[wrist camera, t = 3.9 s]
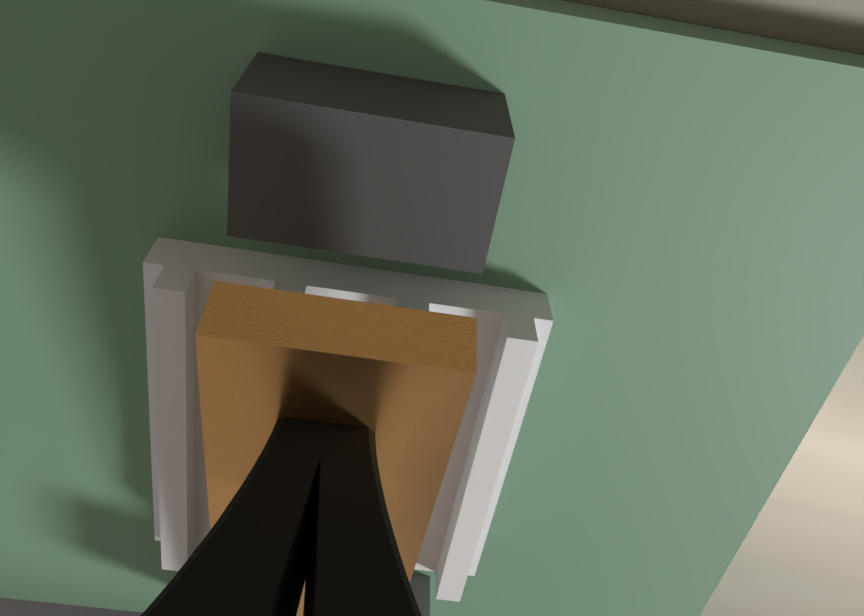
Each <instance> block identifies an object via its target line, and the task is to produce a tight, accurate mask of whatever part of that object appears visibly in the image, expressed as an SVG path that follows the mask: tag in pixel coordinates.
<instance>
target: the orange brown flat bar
mask: <svg viewBox="0 0 864 616" xmlns="http://www.w3.org/2000/svg"><path fill="white" fill-rule="evenodd" d="M195 341H196V354H197V367H198V380H199V393H200V406H201V419H202V431H203V444H204V457H205V470H206V483H207V496H208V509H209V522H210V530H211V529H212V527H213V526H214V525H215V523H216V522H217V520H218V519H219V517H220V516H221V515H222V513H223V512H224V510H225V509H226V507H227V506H228V504H229V503H230V501H231V500H232V498H233V497H234V496H235V494H236V493H237V491H238V490H239V488H240V487H241V485H242V484H243V482H244V481H245V479H246V477H247V476H248V474H249V472H250V471H251V469H252V468H253V466H254V464H255V463H256V461H257V459H258V457H259V456H260V454H261V452H262V450H263V449H264V447H265V445H266V443H267V441H268V439H269V437H270V435H271V433H272V431H273V428H274V426H275V424H276V421H278V420H280V419H282V418H283V417H289V418H297V419H305V420H313V421H321V422H329V423H336V424H345V425H353V426H361V427H369V428H370V429H371V430H372V431H373V432H374V433H375V441H376V453H377V461H378V467H379V473H380V479H381V484H382V488H383V493H384V498H385V502H386V506H387V510H388V514H389V518H390V521H391V525H392V528H393V532H394V535H395V539H396V542H397V546H398V549H399V553H400V556H401V559H402V562H403V565H404V568H405V571H406V574H407V577H408V580H409V583H410V581H411V578H412V575H413V572H414V568H415V565H416V562H417V559H418V556H419V553H420V550H421V547H422V543H423V540H424V537H425V534H426V531H427V528H428V525H429V521H430V518H431V515H432V512H433V509H434V506H435V503H436V500H437V496H438V493H439V490H440V487H441V484H442V481H443V478H444V474H445V471H446V468H447V465H448V462H449V459H450V456H451V453H452V449H453V446H454V443H455V440H456V437H457V434H458V431H459V427H460V424H461V421H462V418H463V415H464V412H465V409H466V406H467V402H468V399H469V396H470V393H471V390H472V387H473V384H474V380H475V377H476V374H477V318H473V317H466V316H459V315H452V314H445V313H438V312H431V311H424V310H417V309H410V308H403V307H396V306H389V305H382V304H375V303H368V302H361V301H354V300H347V299H340V298H333V297H326V296H319V295H312V294H305V293H298V292H291V291H284V290H276V289H269V288H262V287H255V286H248V285H241V284H234V283H227V282H220V281H214V282H213V284H212V287H211V290H210V293H209V296H208V299H207V302H206V305H205V308H204V310H203V313H202V316H201V319H200V322H199V325H198V328H197V331H196V334H195ZM304 594H305V583H304V587H303V591H302V595H301V599H300V603H299V607H298V611H297V615H296V616H303V610H304Z"/></svg>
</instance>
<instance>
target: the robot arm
mask: <svg viewBox="0 0 864 616" xmlns="http://www.w3.org/2000/svg"><path fill="white" fill-rule="evenodd" d="M304 583H305V594H304V610H303V616H422V615H421V612H420V610H419V607H418V605H417V602H416V599H415V596H414V594H413V591H412V588H411V585H410V583H409V580H408V577H407V574H406V571H405V568H404V565H403V562H402V559H401V556H400V553H399V549H398V546H397V542H396V539H395V535H394V532H393V528H392V525H391V521H390V518H389V514H388V510H387V506H386V502H385V498H384V493H383V488H382V484H381V479H380V473H379V467H378V461H377V453H376V441H375V433H374V432H373V431H372V430H371V429H370V428H369V427H361V426H353V425H345V424H336V423H329V422H321V421H313V420H305V419H297V418H289V417H283V418H282V419H280V420H278V421H276V424H275V426H274V428H273V431H272V433H271V435H270V437H269V439H268V441H267V443H266V445H265V447H264V449H263V450H262V452H261V454H260V456H259V457H258V459H257V461H256V463H255V464H254V466H253V468H252V469H251V471H250V472H249V474H248V476H247V477H246V479H245V481H244V482H243V484H242V485H241V487H240V488H239V490H238V491H237V493H236V494H235V496H234V497H233V498H232V500H231V501H230V503H229V504H228V506H227V507H226V509H225V510H224V512H223V513H222V515H221V516H220V517H219V519H218V520H217V522H216V523H215V525H214V526H213V527H212V529H211V530H210V531H209V533H208V534H207V535H206V537H205V538H204V539H203V540H202V542H201V543H200V544H199V546H198V547H197V548H196V549H195V551H194V552H193V553H192V555H191V556H190V557H189V558H188V560H187V561H186V562H185V564H184V565H183V566H182V567H181V569H180V570H179V571H178V572H177V574H176V575H175V576H174V577H173V579H172V580H171V581H170V582H169V583H168V585H167V586H166V587H165V588H164V589H163V590H162V592H161V593H160V594H159V595H158V596H157V598H156V599H155V600H154V601H153V602H152V603H151V604H150V606H149V607H148V608H147V609H146V610H145V611H144V612H143V613H142V614H141V616H296V615H297V611H298V607H299V603H300V599H301V595H302V591H303V587H304Z"/></svg>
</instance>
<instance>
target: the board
mask: <svg viewBox="0 0 864 616" xmlns="http://www.w3.org/2000/svg"><path fill="white" fill-rule="evenodd" d="M214 281H220V282H227V283H234V284H241V285H248V286H255V287H262V288H269V289H276V290H284V291H291V292H298V293H305V294H312V295H319V296H326V297H333V298H340V299H347V300H354V301H361V302H368V303H375V304H382V305H389V306H396V307H403V308H410V309H417V310H424V311H431V312H438V313H445V314H452V315H459V316H466V317H473V318H477V374H476V377H475V380H474V384H473V387H472V390H471V393H470V396H469V399H468V402H467V406H466V409H465V412H464V415H463V418H462V421H461V424H460V427H459V431H458V434H457V437H456V440H455V443H454V446H453V449H452V453H451V456H450V459H449V462H448V465H447V468H446V471H445V474H444V478H443V481H442V484H441V487H440V490H439V493H438V496H437V500H436V503H435V506H434V509H433V512H432V515H431V518H430V521H429V525H428V528H427V531H426V534H425V537H424V540H423V543H422V547H421V550H420V553H419V556H418V559H417V562H416V565H415V568H414V572H413V575H412V578H411V581H410V585H411V588H412V591H413V594H414V596H415V599H416V602H417V605H418V607H419V610H420V612H421V615H422V616H700V614H701V612H702V610H703V609H704V607H705V605H706V604H707V602H708V600H709V598H710V597H711V595H712V593H713V592H714V590H715V588H716V587H717V585H718V583H719V581H720V580H721V578H722V576H723V575H724V573H725V571H726V569H727V568H728V566H729V564H730V563H731V561H732V559H733V557H734V556H735V554H736V552H737V551H738V549H739V547H740V545H741V544H742V542H743V540H744V539H745V537H746V535H747V533H748V532H749V530H750V528H751V527H752V525H753V523H754V522H755V520H756V518H757V516H758V515H759V513H760V511H761V510H762V508H763V506H764V504H765V503H766V501H767V499H768V498H769V496H770V494H771V492H772V491H773V489H774V487H775V486H776V484H777V482H778V480H779V479H780V477H781V475H782V474H783V472H784V470H785V469H786V467H787V465H788V463H789V462H790V460H791V458H792V457H793V455H794V453H795V451H796V450H797V448H798V446H799V445H800V443H801V441H802V439H803V438H804V436H805V434H806V433H807V431H808V429H809V427H810V426H811V424H812V422H813V421H814V419H815V417H816V415H817V414H818V412H819V410H820V409H821V407H822V405H823V404H824V402H825V400H826V398H827V397H828V395H829V393H830V392H831V390H832V388H833V386H834V385H835V383H836V381H837V380H838V378H839V376H840V374H841V373H842V371H843V369H844V368H845V366H846V364H847V362H848V361H849V359H850V357H851V356H852V354H853V352H854V351H855V349H856V347H857V345H858V344H859V342H860V340H861V339H862V337H863V335H864V55H862V54H857V53H851V52H846V51H840V50H835V49H829V48H824V47H818V46H813V45H807V44H801V43H796V42H790V41H785V40H779V39H774V38H768V37H763V36H757V35H752V34H746V33H741V32H735V31H730V30H724V29H719V28H713V27H708V26H702V25H697V24H691V23H686V22H680V21H674V20H669V19H663V18H658V17H652V16H647V15H641V14H636V13H630V12H625V11H619V10H614V9H608V8H603V7H597V6H592V5H586V4H581V3H575V2H570V1H564V0H0V598H7V599H16V600H26V601H36V602H45V603H55V604H65V605H74V606H84V607H93V608H103V609H113V610H122V611H132V612H142V613H143V612H144V611H145V610H146V609H147V608H148V607H149V606H150V604H151V603H152V602H153V601H154V600H155V599H156V598H157V596H158V595H159V594H160V593H161V592H162V590H163V589H164V588H165V587H166V586H167V585H168V583H169V582H170V581H171V580H172V579H173V577H174V576H175V575H176V574H177V572H178V571H179V570H180V569H181V567H182V566H183V565H184V564H185V562H186V561H187V560H188V558H189V557H190V556H191V555H192V553H193V552H194V551H195V549H196V548H197V547H198V546H199V544H200V543H201V542H202V540H203V539H204V538H205V537H206V535H207V534H208V533H209V531H210V522H209V509H208V496H207V483H206V470H205V457H204V444H203V431H202V419H201V406H200V393H199V380H198V367H197V354H196V341H195V334H196V331H197V328H198V325H199V322H200V319H201V316H202V313H203V310H204V308H205V305H206V302H207V299H208V296H209V293H210V290H211V287H212V284H213V282H214Z"/></svg>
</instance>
